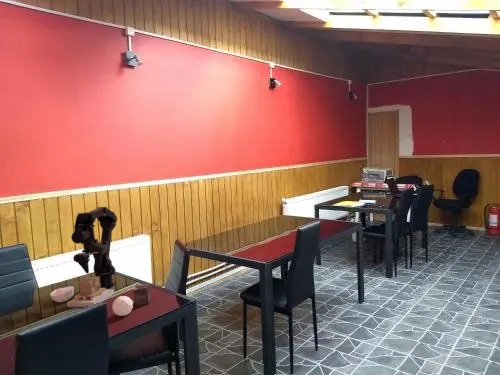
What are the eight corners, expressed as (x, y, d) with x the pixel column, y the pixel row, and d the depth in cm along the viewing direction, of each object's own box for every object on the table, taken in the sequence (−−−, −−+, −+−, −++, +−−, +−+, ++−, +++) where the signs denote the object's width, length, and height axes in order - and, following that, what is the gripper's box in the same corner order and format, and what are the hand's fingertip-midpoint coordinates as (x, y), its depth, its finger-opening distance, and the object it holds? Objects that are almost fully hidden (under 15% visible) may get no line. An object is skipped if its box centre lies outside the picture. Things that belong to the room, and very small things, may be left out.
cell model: (81, 295, 201) (79, 282, 200) (65, 305, 189) (62, 291, 189) (63, 296, 203) (61, 282, 203) (46, 305, 192) (43, 291, 191)
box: (151, 299, 185) (149, 283, 184) (148, 304, 179) (146, 288, 178) (138, 300, 185) (136, 285, 184) (134, 306, 179) (132, 289, 178)
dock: (88, 293, 202) (88, 289, 202) (114, 293, 199) (113, 289, 199) (67, 307, 187) (66, 302, 187) (94, 306, 183) (93, 302, 183)
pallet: (88, 292, 199) (87, 288, 198) (106, 291, 196) (105, 287, 196) (74, 300, 189) (74, 296, 189) (93, 299, 187) (93, 295, 186)
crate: (88, 289, 196) (86, 277, 196) (99, 289, 195) (97, 276, 194) (80, 294, 190) (78, 281, 190) (92, 294, 189) (90, 281, 188)
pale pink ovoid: (105, 310, 167) (120, 302, 179) (120, 322, 165) (135, 313, 177) (114, 295, 166) (128, 288, 178) (130, 306, 165) (143, 298, 176)
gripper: (91, 242, 185) (96, 276, 187) (114, 233, 203) (118, 263, 205) (70, 243, 188) (75, 276, 189) (94, 234, 206) (99, 264, 207)
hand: (93, 270), depth 198 cm, fingers open, 9 cm apart
